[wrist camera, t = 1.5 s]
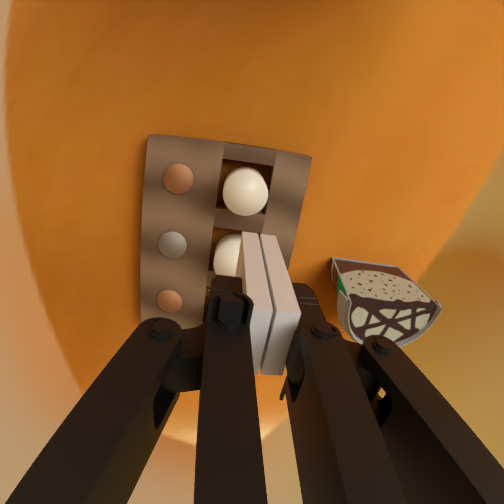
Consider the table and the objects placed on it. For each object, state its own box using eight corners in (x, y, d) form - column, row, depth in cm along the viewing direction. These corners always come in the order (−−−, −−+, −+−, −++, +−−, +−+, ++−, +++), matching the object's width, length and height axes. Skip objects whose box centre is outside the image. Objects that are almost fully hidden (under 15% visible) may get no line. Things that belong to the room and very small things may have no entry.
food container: (307, 300, 39) (326, 354, 30) (319, 255, 36) (345, 302, 27) (391, 307, 40) (423, 354, 31) (406, 267, 38) (446, 309, 29)
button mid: (217, 230, 33) (215, 243, 30) (256, 235, 33) (258, 248, 30) (213, 265, 34) (211, 280, 31) (250, 270, 35) (251, 285, 32)
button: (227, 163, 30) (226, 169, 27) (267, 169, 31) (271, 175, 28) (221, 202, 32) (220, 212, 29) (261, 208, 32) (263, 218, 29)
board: (153, 134, 30) (147, 135, 28) (307, 155, 32) (312, 157, 30) (144, 314, 39) (140, 324, 37) (269, 329, 40) (270, 340, 38)
